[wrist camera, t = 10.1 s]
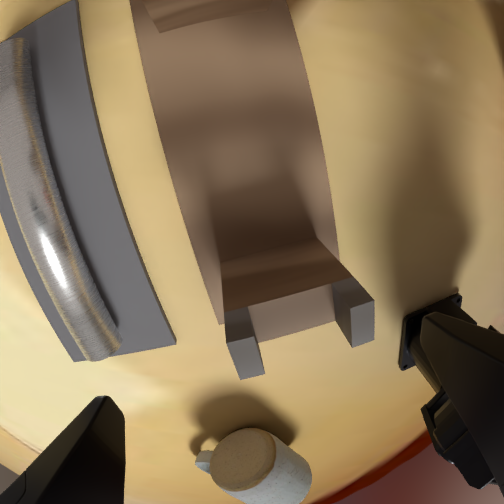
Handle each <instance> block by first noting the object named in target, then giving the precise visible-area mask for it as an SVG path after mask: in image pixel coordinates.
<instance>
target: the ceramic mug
mask: <svg viewBox="0 0 504 504" xmlns="http://www.w3.org/2000/svg"><path fill="white" fill-rule="evenodd" d="M195 465H196V466H197V467H198V468H200V469H201V470H203V471H205V472H206V473H208V474H210V475H211V476H212V479H213V480H214V482H215V483H216V484H217V485H218V486H219V487H220V488H221V489H222V490H223V491H225V492H226V493H228V494H229V495H231V496H233V497H235V498H237V499H239V500H241V501H243V502H245V503H246V504H299V503H300V502H301V501H302V500H303V499H304V498H305V496H306V495H307V493H308V491H309V489H310V486H311V483H312V473H311V469H310V466H309V464H308V463H307V461H306V460H305V459H304V458H303V457H301V456H300V455H299V454H297V453H296V452H295V451H293V450H292V449H291V448H290V447H288V446H287V445H285V444H284V443H283V442H282V441H281V440H280V439H278V438H277V437H276V436H274V435H273V434H271V433H269V432H267V431H264V430H262V429H258V428H244V429H240V430H237V431H235V432H232V433H231V434H229V435H228V436H226V437H225V438H224V439H222V440H221V441H220V443H219V444H218V445H217V446H216V448H215V449H214V451H209V450H207V451H200V452H199V453H198V456H197V458H196V461H195Z"/></svg>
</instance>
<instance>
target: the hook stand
mask: <svg viewBox="0 0 504 504" xmlns="http://www.w3.org/2000/svg"><path fill="white" fill-rule="evenodd" d="M130 5H131V11H132V16H133V21H134V27H135V32H136V37H137V42H138V46H139V51H140V56H141V60H142V65H143V69H144V74H145V78H146V82H147V87H148V91H149V95H150V99H151V103H152V107H153V111H154V115H155V119H156V123H157V127H158V131H159V135H160V139H161V142H162V146H163V150H164V153H165V157H166V161H167V164H168V168H169V171H170V175H171V178H172V182H173V185H174V189H175V192H176V196H177V199H178V202H179V206H180V209H181V212H182V215H183V219H184V222H185V225H186V228H187V232H188V235H189V238H190V241H191V244H192V247H193V250H194V253H195V257H196V260H197V263H198V266H199V269H200V272H201V275H202V278H203V281H204V284H205V286H206V289H207V292H208V295H209V298H210V301H211V304H212V307H213V309H214V312H215V315H216V318H217V321H218V323H219V325H220V324H224V323H225V334H226V344H227V346H228V349H229V352H230V354H231V357H232V360H233V362H234V365H235V368H236V370H237V373H238V375H239V378H240V380H242V379H246V378H251V377H255V376H259V375H263V374H265V371H264V367H263V362H262V358H261V353H260V349H259V345H258V343H259V342H263V341H267V340H271V339H275V338H278V337H282V336H285V335H289V334H293V333H296V332H300V331H303V330H306V329H310V328H313V327H316V326H320V325H323V324H326V323H329V322H333V321H336V322H337V324H338V325H339V327H340V329H341V330H342V332H343V334H344V335H345V337H346V339H347V340H348V342H349V343H350V345H351V347H352V348H353V347H356V346H359V345H362V344H364V343H367V342H370V341H373V340H374V299H373V298H372V297H371V296H370V295H369V294H368V292H367V291H366V290H365V289H364V288H363V287H362V286H361V285H360V284H359V282H358V281H357V280H356V279H355V278H354V277H353V276H352V275H351V274H350V272H349V271H348V270H347V269H346V268H345V267H344V266H343V265H342V264H341V263H340V259H339V250H338V242H337V234H336V226H335V219H334V212H333V205H332V198H331V192H330V185H329V179H328V173H327V167H326V162H325V156H324V151H323V146H322V140H321V135H320V130H319V125H318V121H317V116H316V111H315V107H314V102H313V98H312V94H311V89H310V85H309V81H308V77H307V73H306V69H305V65H304V61H303V57H302V54H301V50H300V46H299V43H298V39H297V36H296V32H295V29H294V25H293V22H292V19H291V15H290V12H289V9H288V6H287V3H286V0H130Z"/></svg>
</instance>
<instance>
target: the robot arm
mask: <svg viewBox="0 0 504 504" xmlns="http://www.w3.org/2000/svg"><path fill="white" fill-rule="evenodd" d="M461 303H462V296H461V295H460V294H458V293H457V294H455V295H453V296H450V297H448V298H446V299H444V300H442V301H439V302H437V303H435V304H433V305H430V306H428V307H426V308H423V309H421V310H419V311H416V312H414V313H411V314H409V315H407V316H406V317H405V319H404V324H403V335H402V345H401V354H400V362H399V368H400V369H401V370H402V371H404V370H406V369H408V368H411V367H413V366H415V365H416V366H417V368H418V369H419V370H420V372H421V373H422V374H423V376H424V377H425V378H426V380H427V381H428V382H429V384H430V385H431V386H432V388H433V389H434V391H435V392H436V393H437V394H436V395H435V396H434V397H433V398H432V399H431V400H430V401H429V402H428V403H427V404H425V405H424V406H423V407H422V408H421V412H422V414H423V418H424V421H425V424H426V426H427V429H428V431H429V434H430V437H431V440H432V442H433V445H434V448H435V450H436V452H437V453H438V455H439V456H442V457H443V458H444V459H445V460H447V461H448V462H450V463H453V464H454V465H455V466H456V467H457V468H458V469H459V471H460V472H461V474H463V476H464V478H465V480H466V481H467V483H468V484H469V485H470V486H472V487H475V488H477V489H482V488H483V487H485V486H486V485H487V484H496V485H498V486H499V487H500V490H501V492H502V494H503V497H504V334H501V333H500V332H499V331H497V330H496V329H495V328H494V327H493V326H491V325H490V326H489V328H488V329H486V328H483V327H480V326H477V322H476V321H475V320H473V319H472V318H471V317H470V316H469V315H468V314H467V313H466V312H464V311H463V310H462V309H461ZM125 464H126V459H125V418H124V415H123V413H122V411H121V410H120V409H119V408H118V406H117V405H116V404H115V402H114V401H113V400H112V398H111V397H109V396H97V397H95V398H94V399H93V400H92V401H91V402H90V403H89V404H88V405H87V406H86V407H85V408H84V409H83V411H82V412H81V413H80V414H79V415H78V416H77V417H76V418H75V419H74V420H73V421H72V422H71V423H70V424H69V425H68V426H67V427H66V428H65V429H64V430H63V431H62V432H61V433H60V434H59V435H58V436H57V437H56V438H55V440H54V441H53V442H52V443H51V444H50V445H49V446H48V447H47V448H46V449H45V450H44V451H43V452H42V453H41V454H40V455H39V456H38V457H37V458H36V459H35V460H34V461H33V462H32V464H31V465H30V466H29V467H28V468H27V469H26V471H24V472H23V473H22V474H21V475H20V476H19V477H18V478H17V479H16V480H15V481H14V482H13V483H12V484H11V485H10V486H9V487H8V488H7V489H6V490H5V491H4V492H3V493H2V494H1V495H0V504H124V483H125Z"/></svg>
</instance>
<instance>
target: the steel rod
mask: <svg viewBox="0 0 504 504" xmlns="http://www.w3.org/2000/svg"><path fill="white" fill-rule="evenodd" d="M0 164H1V168H2V172H3V176H4V180H5V183H6V187H7V190H8V193H9V197H10V200H11V203H12V206H13V209H14V212H15V215H16V218H17V221H18V223H19V226H20V229H21V232H22V234H23V237H24V239H25V242H26V244H27V247H28V249H29V252H30V254H31V257H32V259H33V261H34V263H35V266H36V268H37V270H38V272H39V275H40V277H41V279H42V281H43V283H44V285H45V287H46V289H47V291H48V293H49V295H50V297H51V299H52V301H53V303H54V305H55V307H56V309H57V311H58V312H59V314H60V316H61V318H62V320H63V321H64V323H65V325H66V327H67V329H68V330H69V332H70V334H71V335H72V337H73V339H74V340H75V342H76V344H77V345H78V347H79V348H80V350H81V352H82V353H83V355H84V356H85V358H86V359H87V360H89V361H100V360H103V359H106V358H108V357H109V356H111V355H112V354H114V353H115V352H116V351H117V350H118V349H119V347H120V346H121V344H122V336H121V334H120V333H119V331H118V329H117V327H116V325H115V323H114V321H113V319H112V318H111V316H110V314H109V312H108V310H107V308H106V306H105V304H104V302H103V300H102V298H101V295H100V293H99V291H98V289H97V287H96V285H95V283H94V281H93V278H92V276H91V274H90V272H89V269H88V267H87V265H86V262H85V260H84V258H83V255H82V253H81V250H80V248H79V245H78V243H77V240H76V238H75V235H74V233H73V230H72V227H71V225H70V222H69V219H68V216H67V214H66V211H65V208H64V205H63V202H62V199H61V196H60V193H59V190H58V186H57V183H56V180H55V177H54V173H53V170H52V166H51V163H50V159H49V155H48V151H47V147H46V143H45V139H44V135H43V131H42V126H41V121H40V116H39V111H38V106H37V101H36V95H35V89H34V82H33V75H32V67H31V58H30V47H29V41H28V40H27V39H25V38H13V39H9V40H6V41H3V42H1V43H0Z"/></svg>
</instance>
